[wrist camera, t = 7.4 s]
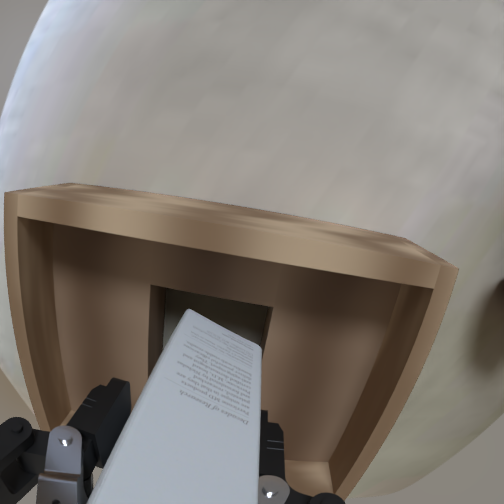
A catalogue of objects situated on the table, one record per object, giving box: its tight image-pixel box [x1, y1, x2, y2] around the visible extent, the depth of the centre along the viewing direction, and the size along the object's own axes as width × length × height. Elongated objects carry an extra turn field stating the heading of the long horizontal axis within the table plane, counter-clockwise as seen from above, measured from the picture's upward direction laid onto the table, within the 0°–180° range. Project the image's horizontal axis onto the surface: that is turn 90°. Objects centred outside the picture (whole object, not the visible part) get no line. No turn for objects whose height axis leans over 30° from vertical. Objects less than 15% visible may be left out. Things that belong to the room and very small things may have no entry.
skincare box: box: [86, 309, 262, 504], centre depth 10 cm, size 6×4×12 cm
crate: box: [4, 183, 459, 501], centre depth 16 cm, size 20×16×6 cm
